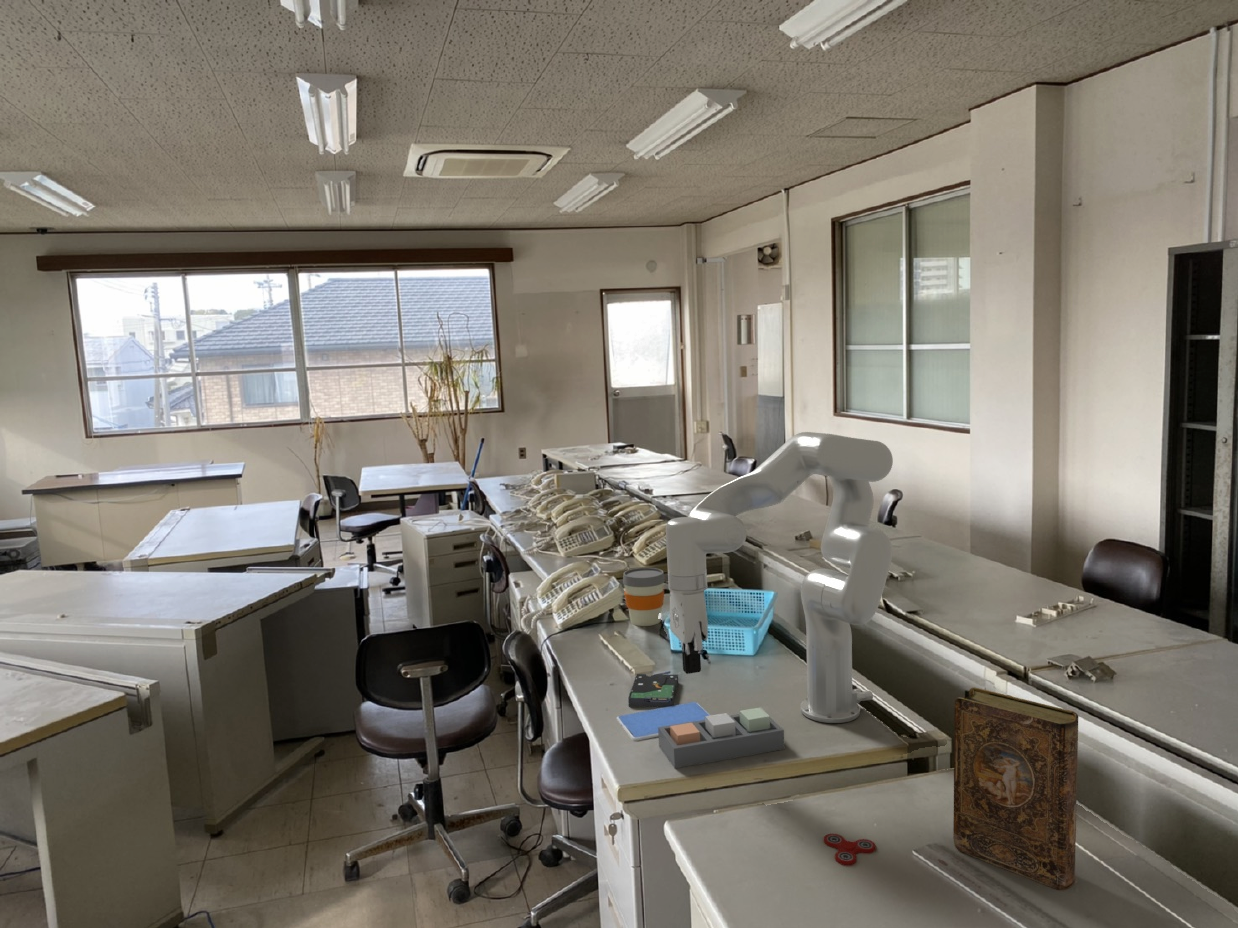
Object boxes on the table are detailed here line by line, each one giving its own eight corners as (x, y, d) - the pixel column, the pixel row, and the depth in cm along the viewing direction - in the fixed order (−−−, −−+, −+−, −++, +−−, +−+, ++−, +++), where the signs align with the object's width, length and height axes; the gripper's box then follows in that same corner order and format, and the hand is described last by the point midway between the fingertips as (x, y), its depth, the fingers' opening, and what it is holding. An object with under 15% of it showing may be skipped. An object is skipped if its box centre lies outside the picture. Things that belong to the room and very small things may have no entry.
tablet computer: (633, 744, 174) (633, 738, 174) (615, 720, 186) (615, 714, 186) (719, 727, 179) (718, 722, 179) (696, 705, 191) (696, 700, 191)
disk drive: (636, 684, 206) (628, 709, 191) (635, 673, 205) (627, 697, 191) (678, 685, 204) (673, 709, 190) (678, 673, 204) (673, 697, 189)
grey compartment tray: (763, 728, 177) (762, 710, 176) (784, 749, 167) (783, 729, 167) (658, 745, 171) (658, 727, 171) (674, 768, 162) (673, 748, 161)
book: (1079, 875, 124) (1083, 713, 120) (1066, 893, 120) (1070, 726, 117) (968, 834, 135) (969, 685, 132) (953, 849, 131) (953, 696, 128)
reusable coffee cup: (663, 613, 259) (661, 566, 257) (668, 626, 247) (666, 576, 245) (623, 616, 259) (621, 568, 257) (626, 629, 246) (623, 579, 244)
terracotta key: (692, 734, 170) (691, 722, 169) (700, 744, 165) (699, 731, 165) (670, 737, 169) (670, 726, 168) (677, 747, 164) (677, 735, 164)
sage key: (760, 718, 173) (760, 707, 173) (770, 728, 169) (769, 716, 169) (739, 722, 172) (739, 710, 172) (748, 731, 168) (748, 719, 168)
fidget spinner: (821, 840, 136) (821, 832, 136) (864, 835, 137) (864, 827, 137) (839, 869, 129) (839, 861, 128) (885, 863, 129) (885, 855, 129)
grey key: (726, 724, 172) (726, 712, 171) (735, 733, 167) (735, 721, 167) (705, 728, 170) (705, 716, 170) (713, 737, 166) (713, 725, 166)
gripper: (657, 574, 170) (662, 661, 172) (681, 593, 155) (686, 688, 158) (692, 569, 172) (697, 656, 174) (719, 588, 157) (723, 682, 160)
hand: (692, 671), depth 166 cm, fingers closed
